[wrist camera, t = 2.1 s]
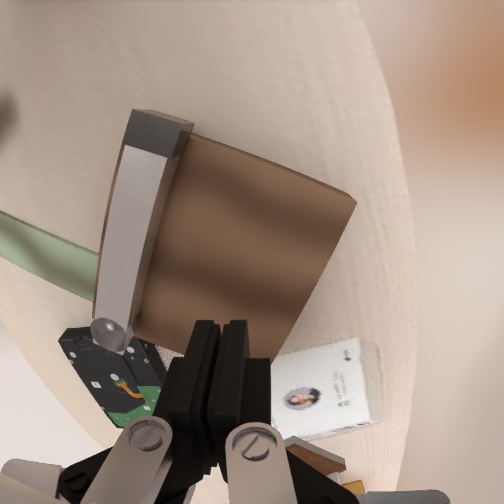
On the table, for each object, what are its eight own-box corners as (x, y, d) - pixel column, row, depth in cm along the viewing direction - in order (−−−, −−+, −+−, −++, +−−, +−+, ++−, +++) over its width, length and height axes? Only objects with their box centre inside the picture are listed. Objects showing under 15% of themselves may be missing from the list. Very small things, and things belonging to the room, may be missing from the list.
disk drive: (67, 325, 29) (122, 414, 35) (55, 340, 27) (116, 429, 32) (146, 317, 28) (194, 415, 34) (136, 335, 25) (190, 433, 31)
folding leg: (138, 334, 24) (126, 357, 22) (104, 320, 24) (89, 341, 21) (196, 123, 18) (184, 124, 15) (149, 109, 17) (130, 108, 15)
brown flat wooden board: (15, 90, 19) (-3, 90, 16) (347, 193, 22) (357, 202, 20) (-1, 252, 25) (-15, 262, 23) (262, 359, 29) (262, 378, 26)
